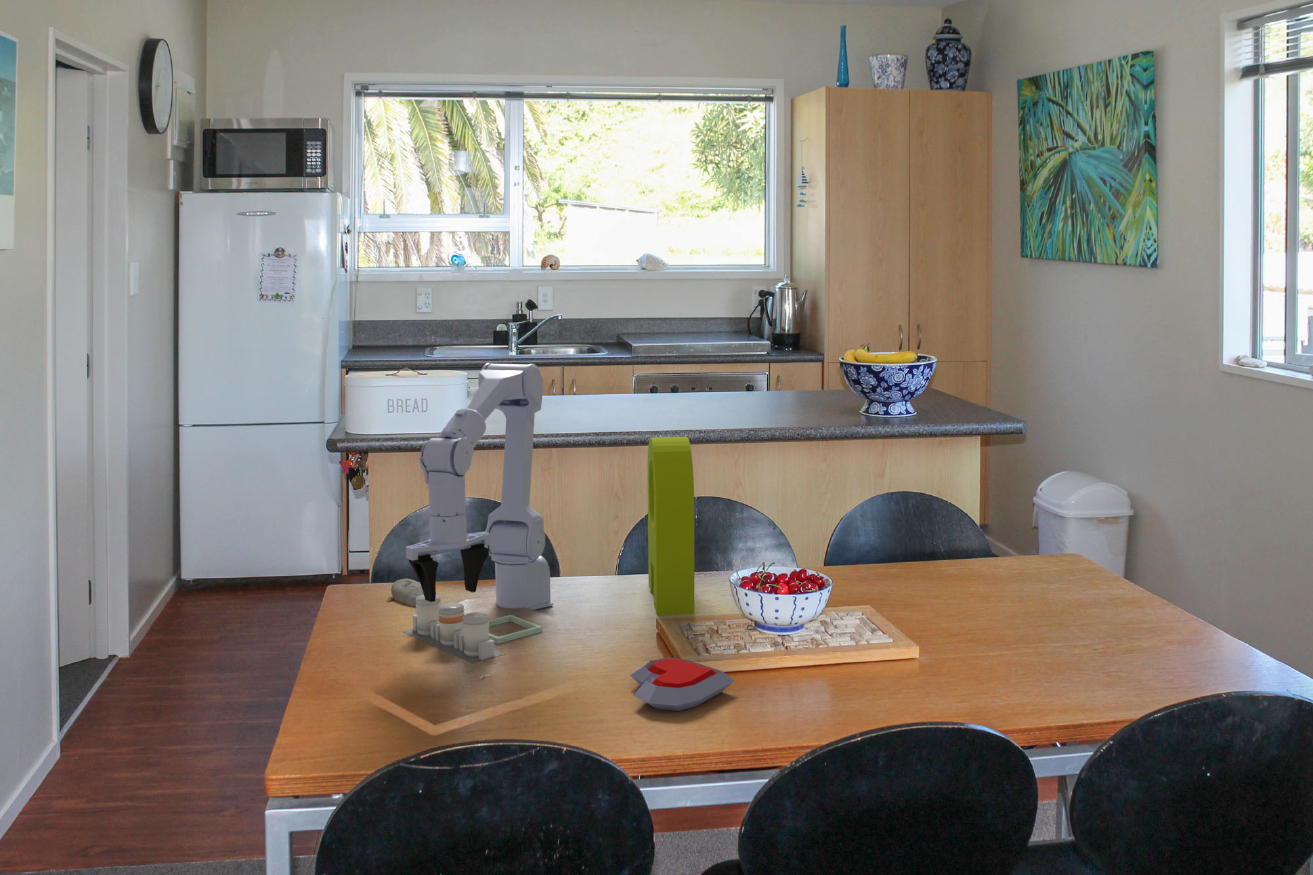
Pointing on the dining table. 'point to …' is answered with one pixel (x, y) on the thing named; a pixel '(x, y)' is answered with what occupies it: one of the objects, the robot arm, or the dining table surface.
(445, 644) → the cylinder
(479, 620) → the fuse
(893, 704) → the dining table surface
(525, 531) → the robot arm
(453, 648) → the fuse holder
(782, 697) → the dining table surface
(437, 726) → the dining table surface
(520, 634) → the tray
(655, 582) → the decorative object
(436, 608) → the fuse
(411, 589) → the decorative stone
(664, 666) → the sculpture
